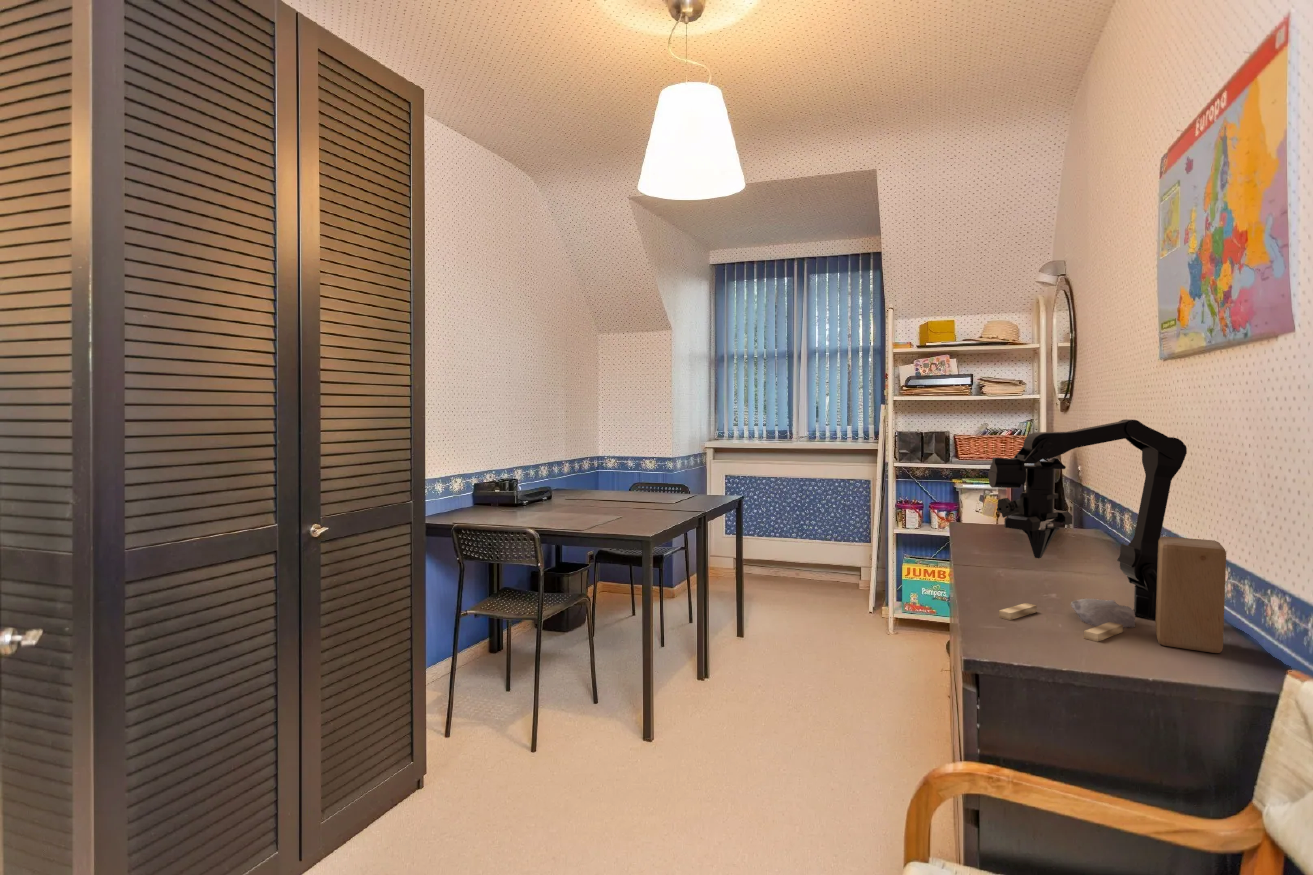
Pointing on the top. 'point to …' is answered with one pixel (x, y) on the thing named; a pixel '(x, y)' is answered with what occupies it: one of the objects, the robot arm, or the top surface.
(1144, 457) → the robot arm
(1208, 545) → the wooden block
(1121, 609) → the stone block
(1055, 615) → the top surface
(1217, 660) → the top surface
